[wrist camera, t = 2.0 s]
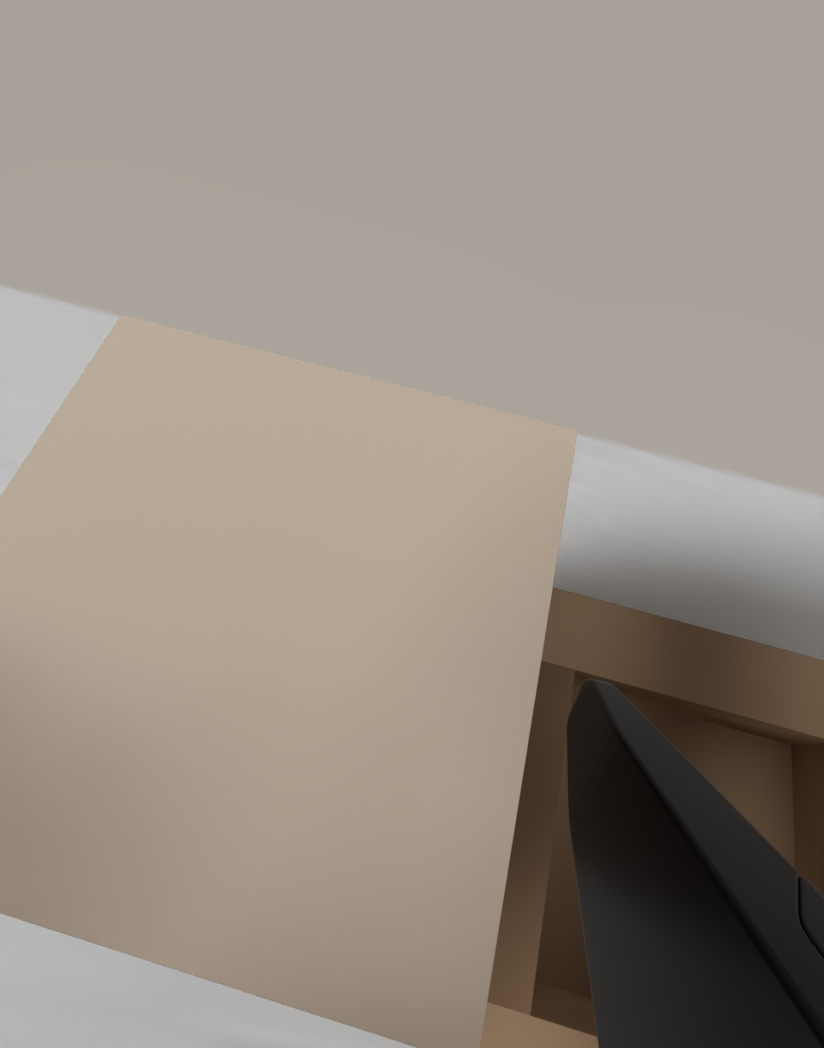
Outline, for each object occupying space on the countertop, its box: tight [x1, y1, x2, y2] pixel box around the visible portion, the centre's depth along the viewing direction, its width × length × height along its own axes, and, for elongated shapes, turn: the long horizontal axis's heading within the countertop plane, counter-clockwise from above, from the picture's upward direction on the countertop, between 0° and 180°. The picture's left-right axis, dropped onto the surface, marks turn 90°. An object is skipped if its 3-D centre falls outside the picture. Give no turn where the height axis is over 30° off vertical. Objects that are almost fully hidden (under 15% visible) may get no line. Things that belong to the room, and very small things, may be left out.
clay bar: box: [0, 315, 578, 1048], centre depth 10 cm, size 5×5×12 cm
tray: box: [480, 588, 824, 1048], centre depth 13 cm, size 9×11×3 cm
